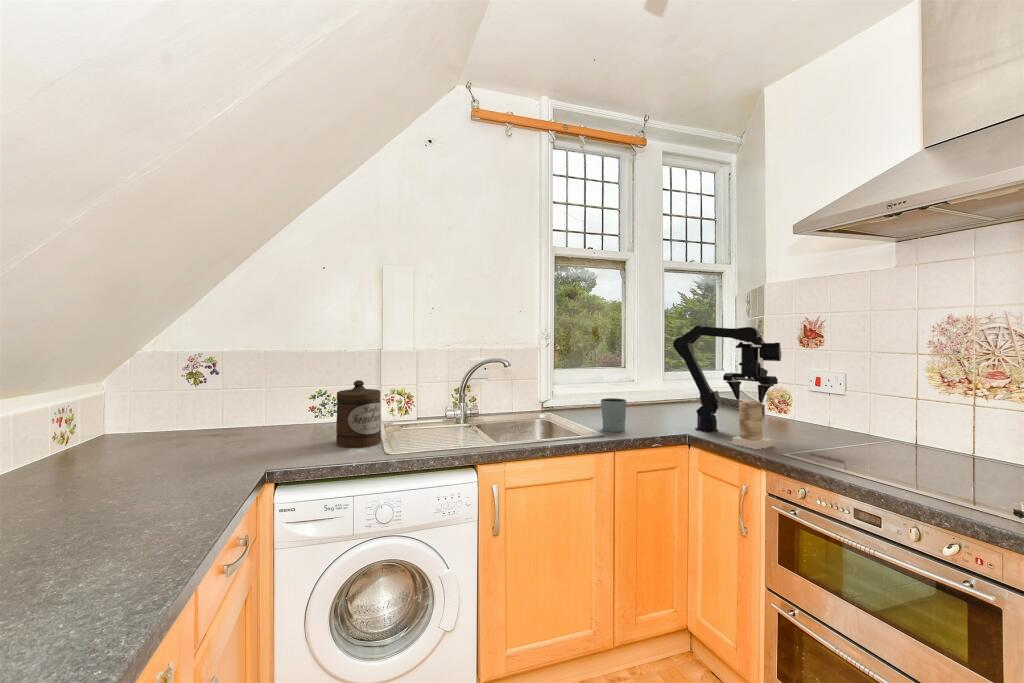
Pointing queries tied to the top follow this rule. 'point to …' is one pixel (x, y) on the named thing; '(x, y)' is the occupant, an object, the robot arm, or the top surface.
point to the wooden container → (358, 417)
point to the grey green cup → (613, 414)
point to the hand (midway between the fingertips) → (749, 401)
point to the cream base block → (753, 442)
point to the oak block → (750, 420)
